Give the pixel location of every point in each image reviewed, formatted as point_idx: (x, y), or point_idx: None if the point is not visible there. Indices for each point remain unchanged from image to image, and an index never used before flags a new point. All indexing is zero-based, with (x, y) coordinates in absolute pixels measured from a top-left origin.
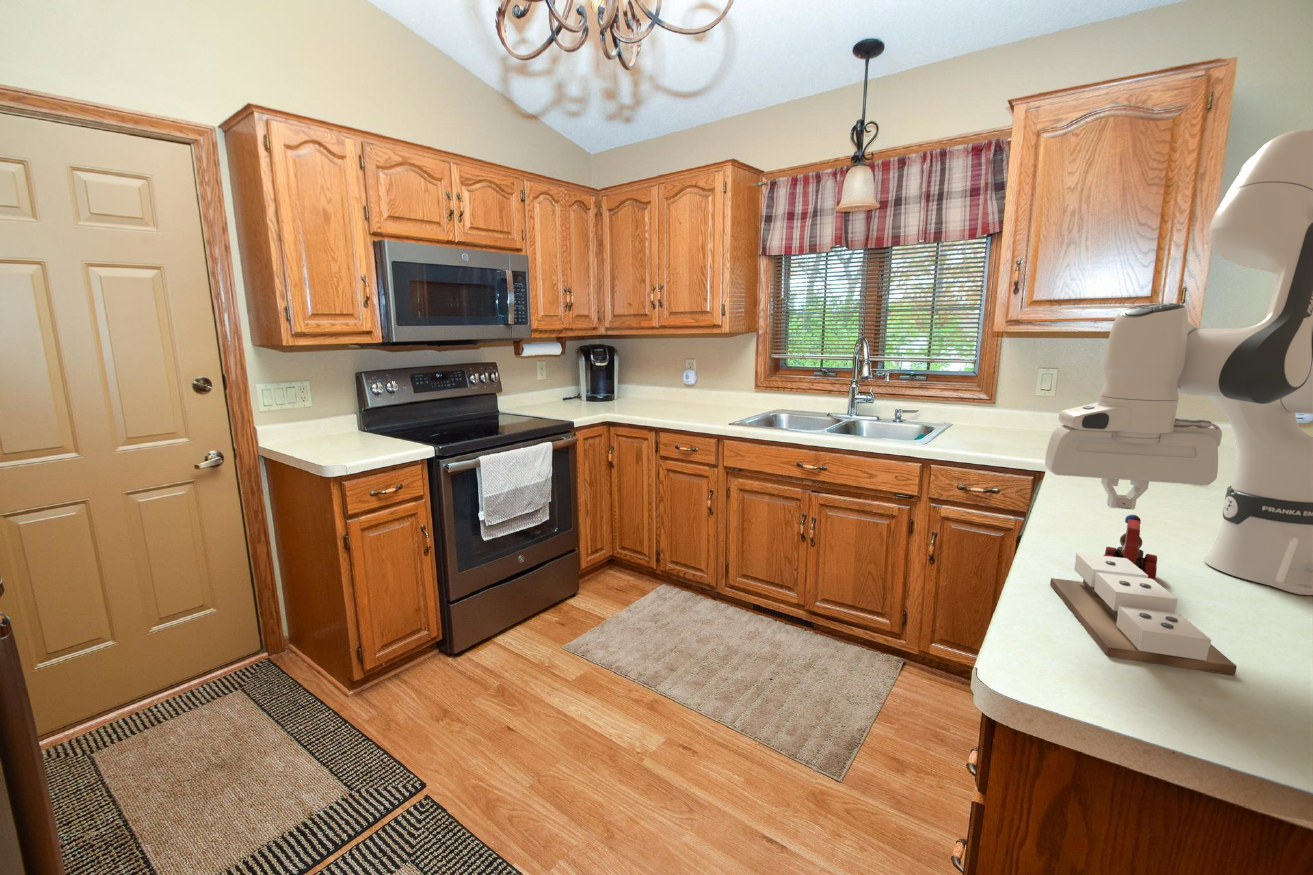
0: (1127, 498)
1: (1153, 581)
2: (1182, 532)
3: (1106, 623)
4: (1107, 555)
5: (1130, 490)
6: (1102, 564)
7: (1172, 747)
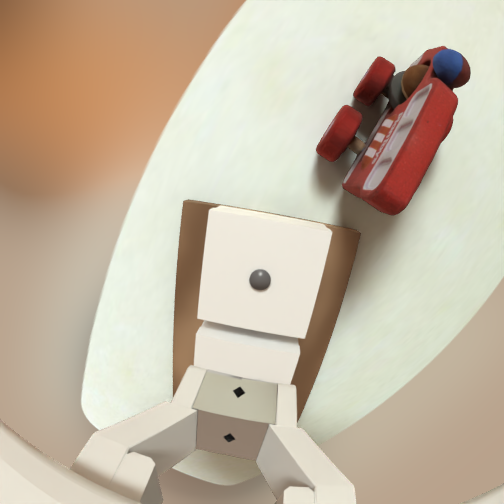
0: (237, 456)
1: (291, 366)
2: None
3: None
4: (340, 128)
5: (288, 453)
6: (236, 286)
7: (175, 469)
